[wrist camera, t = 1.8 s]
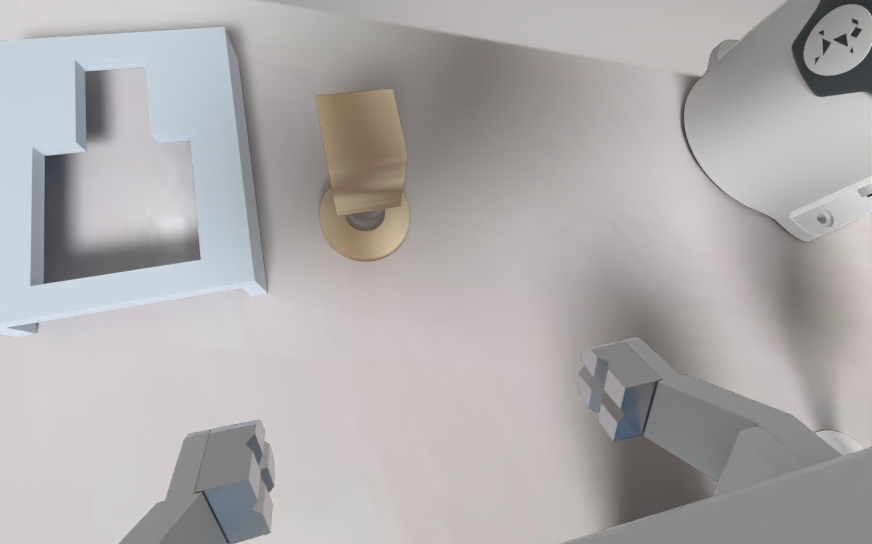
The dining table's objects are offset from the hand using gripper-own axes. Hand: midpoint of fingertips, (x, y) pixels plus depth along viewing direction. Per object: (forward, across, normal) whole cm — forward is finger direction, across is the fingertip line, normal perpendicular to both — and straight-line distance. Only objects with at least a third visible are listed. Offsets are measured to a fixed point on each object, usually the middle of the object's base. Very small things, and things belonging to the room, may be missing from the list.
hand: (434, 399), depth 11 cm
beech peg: (+21, 0, +3) cm, 21 cm away
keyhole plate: (+24, +14, 0) cm, 28 cm away
